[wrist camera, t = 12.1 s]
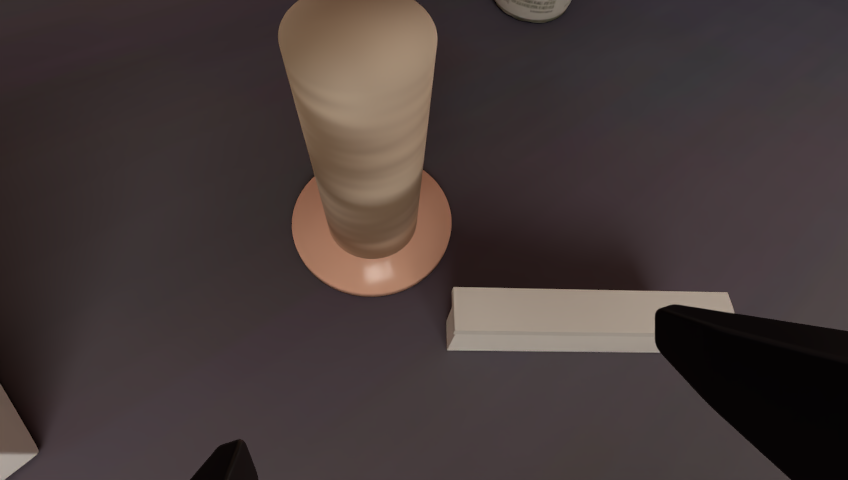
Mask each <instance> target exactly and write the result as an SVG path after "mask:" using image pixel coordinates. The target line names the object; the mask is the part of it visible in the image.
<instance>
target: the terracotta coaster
mask: <svg viewBox="0 0 848 480" xmlns="http://www.w3.org/2000/svg"><path fill="white" fill-rule="evenodd" d="M451 227H452V222H451V212H450V207H449V204H448V201H447V198H446V196H445V194H444V192H443V191H442V189H441V188H440V186H439V185H438V184H437V182H436V181H435V180H434V179H433V178H432V177H431V176H430V175H429V174H428V173H426V172H425V171H424V170H423V172H422V181H421V190H420V199H419V207H418V216H417V224H416V229H415V232H414V235H413V237H412V238H411V240H410V241H409V242H408V244H407V245H406V246H405V247H404V248H402V249H401V250H400V251H398V252H397V253H395V254H393V255H390V256H388V257H384V258H379V259H365V258H360V257H356V256H354V255H351V254H349V253H347V252H346V251H344V250H343V249H342V248H340V247H339V246H338V245H337V243H336V242H335V241H334V239H333V237H332V236H331V233H330V231H329V227H328V223H327V219H326V216H325V212H324V208H323V205H322V201H321V197H320V194H319V190H318V186H317V183H316V179H315V176H314V177H313V178H312V179H311V180H310V181H309V183H308V184H307V185H306V186H305V188H304V189H303V190H302V192H301V193H300V195H299V197H298V199H297V202H296V205H295V207H294V211H293V217H292V233H293V239H294V242H295V246H296V248H297V250H298V253H299V255H300V257H301V259H302V261H303V262H304V264H305V265H306V267H307V268H308V269H309V270H310V271H311V273H312V274H313V275H314V276H315V277H317V278H318V279H319V280H320V281H322V282H323V283H325V284H326V285H328V286H330V287H331V288H333V289H336V290H338V291H340V292H343V293H347V294H350V295H355V296H362V297H379V296H387V295H391V294H396V293H398V292H401V291H404V290H406V289H408V288H410V287H412V286H414V285H416V284H418V283H419V282H420V281H422V280H423V279H425V278H426V277H427V276H428V275H429V274H430V273H431V272H432V271H433V270H434V269H435V268H436V266H437V265H438V264H439V262H440V261H441V259H442V258H443V255H444V253H445V251H446V249H447V246H448V242H449V238H450V234H451Z"/></svg>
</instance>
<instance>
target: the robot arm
mask: <svg viewBox="0 0 848 480" xmlns="http://www.w3.org/2000/svg"><path fill="white" fill-rule="evenodd" d="M655 344H656V346H657V348H658V350H659V351H660V353H661V354H662V355H663V356H664V357H665V358H666V359H667V360H668V361H669V362H670V364H671V365H672V366H673V367H674V368H675V369H676V370H677V371H678V372H679V373H680V374H681V375H682V376H683V378H684V379H685V380H686V381H687V382H688V383H689V384H690V385H691V386H692V387H693V388H694V389H695V391H696V392H697V393H698V394H699V395H700V396H701V397H702V398H703V399H704V400H705V401H706V402H707V403H708V404H709V405H710V406H711V407H712V408H713V409H714V410H715V411H716V412H717V413H718V414H719V415H720V416H722V417H723V418H724V419H725V420H726V421H727V422H728V423H729V424H730V425H731V426H733V427H734V428H735V429H736V430H737V431H738V432H739V433H740V434H741V435H742V436H744V437H745V438H746V439H747V440H748V441H749V442H750V443H751V444H752V445H753V446H755V447H756V448H757V449H758V450H759V451H760V452H761V453H762V454H763V455H764V456H766V457H767V458H768V459H769V460H770V461H771V462H772V463H773V464H774V465H775V466H777V467H778V468H779V469H780V470H781V471H782V472H783V473H784V474H785V475H786V476H788V477H789V478H790V479H791V480H848V331H843V330H837V329H830V328H824V327H818V326H811V325H805V324H799V323H792V322H786V321H779V320H773V319H767V318H760V317H754V316H748V315H741V314H735V313H728V312H722V311H716V310H709V309H703V308H697V307H690V306H684V305H677V304H672V305H668V306H665V307H662V308H659V309H658V310H657V311H656V313H655ZM190 480H258V475H257V472H256V469H255V466H254V463H253V461H252V458H251V456H250V453H249V450H248V448H247V445H246V443H245V442H244V441H243V440H241V439H238V440H235V441H232V442H229V443H225V444H222V445H220V446H219V447H218V448H217V449H216V450H215V451H214V452H213V453H212V455H211V456H210V457H209V458H208V459H207V460H206V462H205V463H204V464H203V465H202V466H201V467H200V469H199V470H198V471H197V472H196V473H195V475H194V476H193V477H192V478H191V479H190Z"/></svg>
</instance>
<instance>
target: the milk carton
mask: <svg viewBox="0 0 848 480" xmlns="http://www.w3.org/2000/svg"><path fill="white" fill-rule="evenodd" d="M38 452H39V451H38V448H37V446H36V444H35V442H34V440H33V439H32V437H31V435H30V433H29V432H28V430H27V428H26V427H25V425H24V423H23V421H22V420H21V418H20V416H19V415H18V413H17V411H16V409H15V408H14V406H13V404H12V403H11V401H10V399H9V398H8V396H7V394H6V392H5V391H4V389H3V387H2V386H1V384H0V480H5V479H6V478H7V477H9V476H10V475H11V474H12V473H14V472H15V471H16V470H18V469H19V468H20V467H22V466H23V465H24V464H25V463H27V462H28V461H29V460H31V459H32V458H33V457H34V456H36V455H37V454H38Z"/></svg>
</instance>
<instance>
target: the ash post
mask: <svg viewBox="0 0 848 480" xmlns="http://www.w3.org/2000/svg"><path fill="white" fill-rule="evenodd" d="M278 41H279V46H280V50H281V54H282V57H283V61H284V65H285V68H286V72H287V76H288V79H289V83H290V87H291V91H292V94H293V98H294V102H295V105H296V109H297V113H298V116H299V120H300V124H301V127H302V131H303V135H304V138H305V142H306V146H307V149H308V153H309V157H310V161H311V164H312V168H313V172H314V175H315V179H316V183H317V186H318V190H319V194H320V197H321V201H322V205H323V208H324V212H325V216H326V219H327V223H328V227H329V231H330V233H331V236H332V237H333V239H334V241H335V242H336V243H337V245H338V246H339V247H340V248H342V249H343V250H344V251H346V252H347V253H349V254H351V255H354V256H356V257H360V258H365V259H379V258H384V257H388V256H390V255H393V254H395V253H397V252H398V251H400V250H401V249H402V248H404V247H405V246H406V245H407V244H408V242H409V241H410V240H411V238H412V237H413V235H414V232H415V229H416V224H417V216H418V207H419V199H420V190H421V181H422V172H423V163H424V154H425V146H426V137H427V128H428V119H429V110H430V102H431V93H432V84H433V75H434V66H435V57H436V49H437V31H436V27H435V24H434V22H433V20H432V18H431V17H430V15H429V14H428V13H427V11H426V10H425V9H424V8H423V7H422V6H421V5H420V4H418V3H417V2H416V1H414V0H299V1H297V2H296V3H295V4H294V5H293V6H292V7H291V8H290V9H289V10H288V11H287V12H286V14H285V15H284V17H283V19H282V21H281V23H280V26H279V31H278Z"/></svg>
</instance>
